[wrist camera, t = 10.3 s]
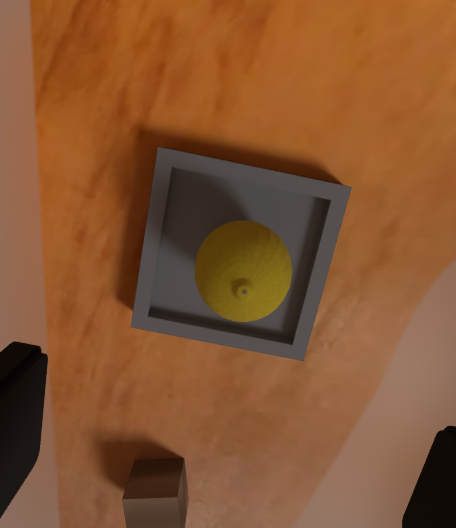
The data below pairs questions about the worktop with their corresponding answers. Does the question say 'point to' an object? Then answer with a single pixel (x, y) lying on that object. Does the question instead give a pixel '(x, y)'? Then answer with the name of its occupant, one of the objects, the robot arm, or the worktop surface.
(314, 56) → the worktop surface
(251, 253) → the lemon
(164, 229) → the dish
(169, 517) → the metal cube
